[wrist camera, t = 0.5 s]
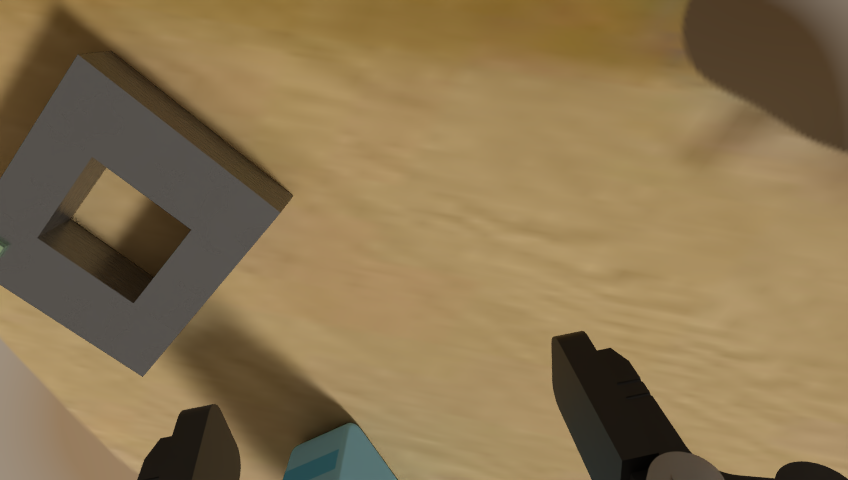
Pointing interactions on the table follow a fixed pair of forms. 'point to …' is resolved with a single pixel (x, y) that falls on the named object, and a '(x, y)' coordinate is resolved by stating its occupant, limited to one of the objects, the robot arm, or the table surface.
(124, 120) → the port block
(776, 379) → the table surface
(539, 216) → the table surface
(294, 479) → the data package
